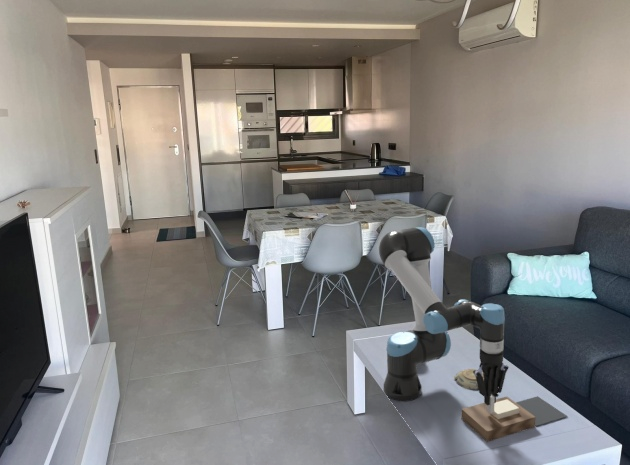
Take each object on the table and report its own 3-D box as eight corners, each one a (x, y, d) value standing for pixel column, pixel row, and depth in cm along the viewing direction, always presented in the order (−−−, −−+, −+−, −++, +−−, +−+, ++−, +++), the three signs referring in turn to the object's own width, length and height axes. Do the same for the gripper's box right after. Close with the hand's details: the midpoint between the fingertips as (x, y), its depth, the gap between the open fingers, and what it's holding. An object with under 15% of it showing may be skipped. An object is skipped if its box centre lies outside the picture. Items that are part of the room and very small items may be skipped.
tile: (497, 419, 165) (497, 414, 165) (486, 410, 171) (486, 404, 170) (518, 413, 168) (519, 408, 167) (506, 404, 173) (507, 399, 173)
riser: (487, 441, 160) (487, 431, 159) (461, 418, 173) (461, 409, 172) (534, 427, 166) (535, 416, 165) (506, 406, 179) (507, 396, 178)
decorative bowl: (500, 386, 193) (476, 369, 207) (500, 378, 192) (476, 361, 206) (468, 395, 188) (446, 376, 202) (468, 387, 188) (446, 369, 201)
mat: (536, 426, 166) (536, 425, 166) (507, 405, 179) (507, 404, 179) (567, 417, 171) (567, 416, 170) (537, 397, 184) (537, 396, 183)
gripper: (482, 358, 156) (480, 422, 162) (515, 350, 160) (512, 413, 165) (468, 348, 163) (467, 410, 168) (500, 341, 167) (498, 402, 172)
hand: (489, 411), depth 167 cm, fingers closed
